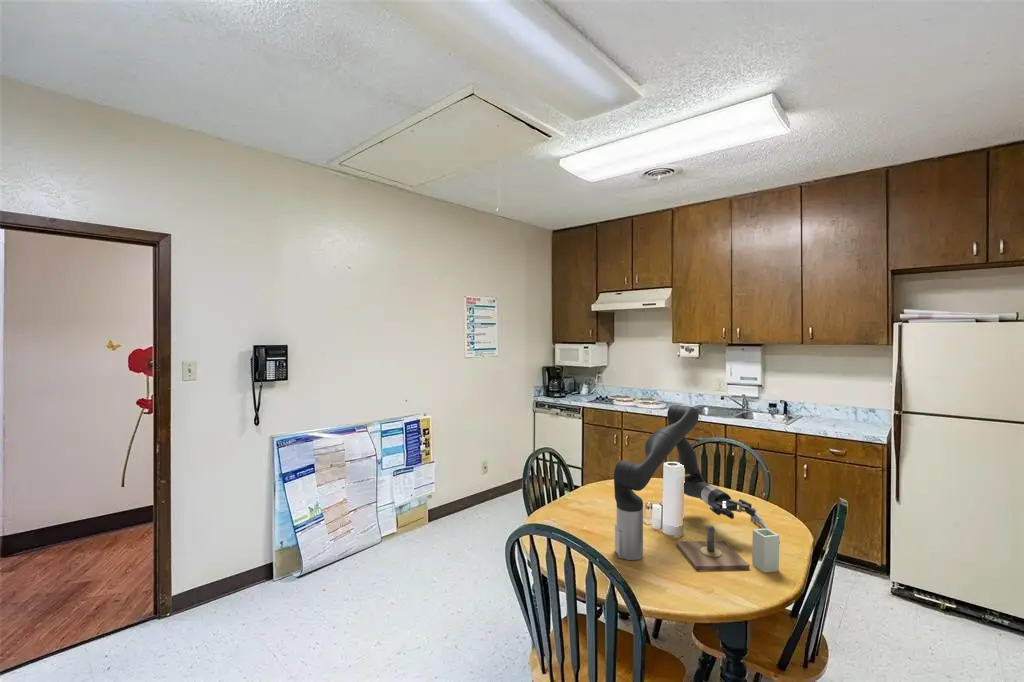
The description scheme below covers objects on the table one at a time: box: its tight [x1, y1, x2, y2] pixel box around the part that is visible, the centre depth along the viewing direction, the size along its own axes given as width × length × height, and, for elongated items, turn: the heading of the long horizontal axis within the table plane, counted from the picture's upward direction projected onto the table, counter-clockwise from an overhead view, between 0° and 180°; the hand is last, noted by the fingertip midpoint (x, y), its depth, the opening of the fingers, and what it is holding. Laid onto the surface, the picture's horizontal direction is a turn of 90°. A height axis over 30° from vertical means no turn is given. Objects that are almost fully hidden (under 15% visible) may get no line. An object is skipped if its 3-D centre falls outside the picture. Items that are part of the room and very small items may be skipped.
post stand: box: [675, 525, 750, 572], centre depth 167 cm, size 18×18×11 cm
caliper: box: [750, 507, 781, 544], centre depth 187 cm, size 20×1×6 cm, turn 179°
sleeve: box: [751, 528, 780, 573], centre depth 159 cm, size 6×6×12 cm
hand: (743, 515), depth 170 cm, fingers open, 8 cm apart
